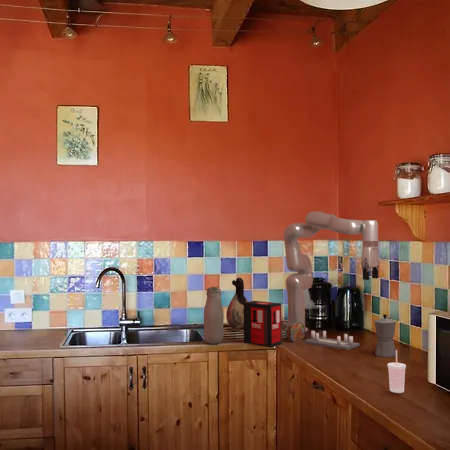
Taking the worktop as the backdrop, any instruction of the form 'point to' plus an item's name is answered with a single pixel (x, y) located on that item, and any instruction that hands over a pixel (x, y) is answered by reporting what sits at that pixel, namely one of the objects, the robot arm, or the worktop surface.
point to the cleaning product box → (262, 323)
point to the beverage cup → (396, 376)
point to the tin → (295, 332)
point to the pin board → (332, 341)
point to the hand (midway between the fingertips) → (370, 279)
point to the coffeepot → (385, 337)
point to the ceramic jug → (237, 307)
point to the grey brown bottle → (213, 316)
